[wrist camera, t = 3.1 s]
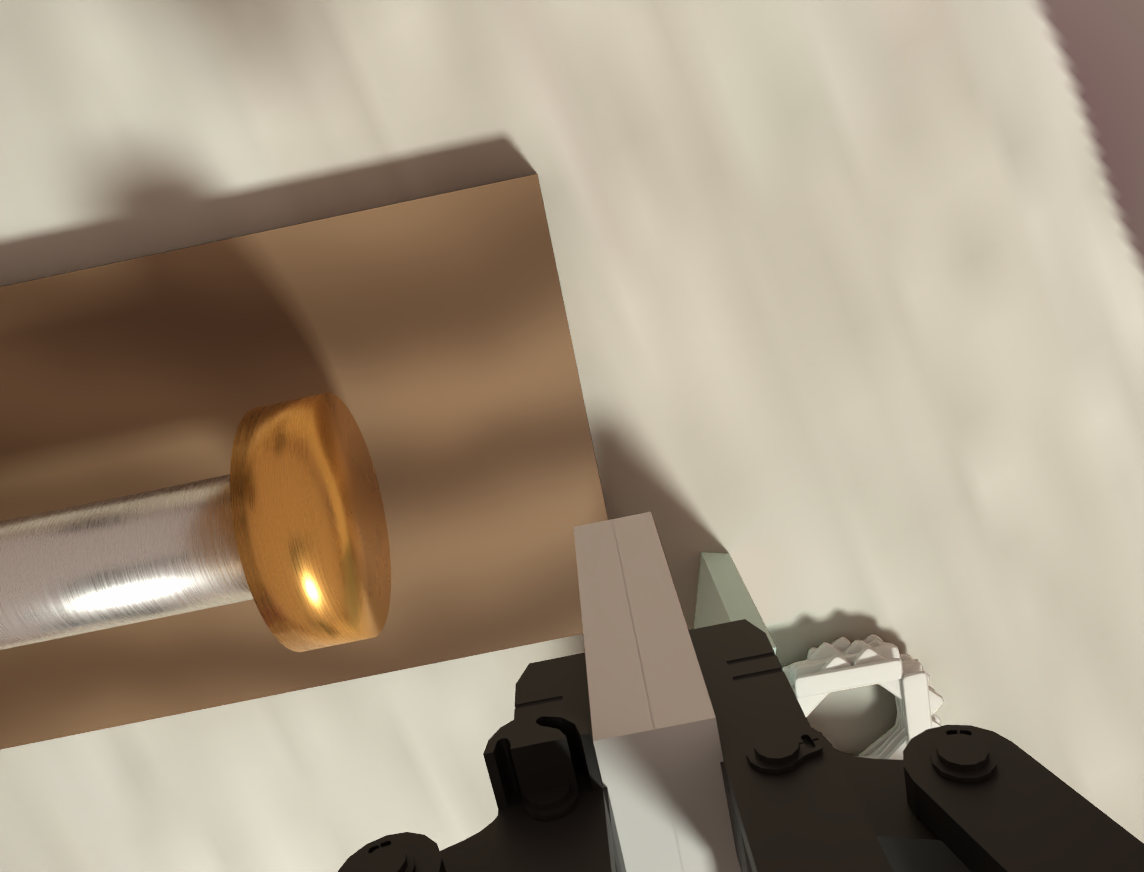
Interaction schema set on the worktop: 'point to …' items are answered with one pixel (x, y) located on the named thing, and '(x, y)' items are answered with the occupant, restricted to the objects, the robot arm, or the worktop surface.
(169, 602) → the shaft
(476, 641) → the base board
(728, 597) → the l-shaped corner panel
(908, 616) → the worktop surface
